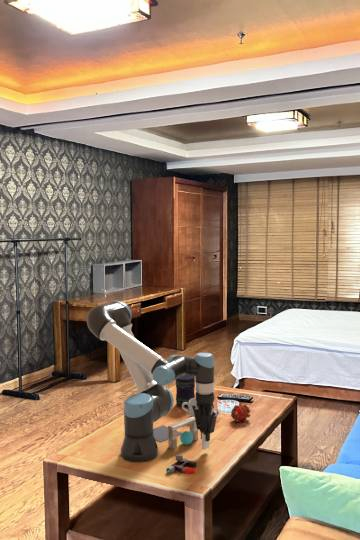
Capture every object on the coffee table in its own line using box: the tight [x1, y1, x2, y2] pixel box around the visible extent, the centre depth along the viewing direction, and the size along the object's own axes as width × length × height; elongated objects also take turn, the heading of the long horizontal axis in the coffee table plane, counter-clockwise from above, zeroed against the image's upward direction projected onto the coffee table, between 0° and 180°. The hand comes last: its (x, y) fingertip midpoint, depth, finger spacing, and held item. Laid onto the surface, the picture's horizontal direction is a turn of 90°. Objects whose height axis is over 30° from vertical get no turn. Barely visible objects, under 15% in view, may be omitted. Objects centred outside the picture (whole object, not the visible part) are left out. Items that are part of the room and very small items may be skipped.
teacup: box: [181, 397, 197, 417], centre depth 257 cm, size 14×11×8 cm
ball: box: [179, 430, 194, 446], centre depth 227 cm, size 6×6×6 cm
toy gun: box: [165, 454, 197, 475], centre depth 203 cm, size 10×12×5 cm
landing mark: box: [153, 425, 183, 443], centre depth 239 cm, size 13×13×1 cm
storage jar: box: [175, 375, 196, 409], centre depth 274 cm, size 10×10×15 cm
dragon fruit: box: [230, 403, 251, 423], centre depth 252 cm, size 8×8×12 cm
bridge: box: [167, 416, 199, 450], centre depth 228 cm, size 3×14×9 cm, turn 133°
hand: (205, 447), depth 219 cm, fingers closed
